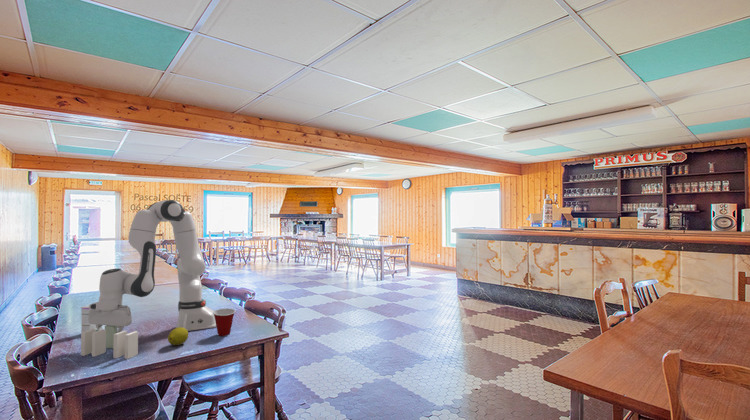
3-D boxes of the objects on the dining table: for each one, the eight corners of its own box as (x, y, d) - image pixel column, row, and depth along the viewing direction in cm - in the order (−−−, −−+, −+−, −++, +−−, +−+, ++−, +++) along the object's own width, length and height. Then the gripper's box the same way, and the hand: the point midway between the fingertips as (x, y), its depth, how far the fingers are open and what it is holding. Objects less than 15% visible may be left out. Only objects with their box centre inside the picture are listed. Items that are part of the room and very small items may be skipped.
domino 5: (124, 358, 154) (124, 335, 154) (134, 354, 159) (134, 331, 159) (128, 358, 154) (128, 335, 154) (137, 354, 159) (138, 331, 159)
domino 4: (113, 357, 155) (113, 334, 155) (123, 353, 160) (123, 330, 160) (116, 358, 155) (117, 334, 155) (126, 353, 160) (127, 330, 160)
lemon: (180, 340, 177) (180, 324, 177) (193, 342, 175) (193, 325, 175) (161, 348, 166) (161, 330, 167) (175, 350, 164) (175, 332, 164)
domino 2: (91, 356, 157) (92, 332, 157) (102, 351, 162) (102, 329, 162) (95, 356, 157) (95, 333, 157) (105, 352, 162) (105, 329, 162)
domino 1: (80, 355, 158) (81, 332, 158) (91, 351, 163) (92, 328, 163) (84, 355, 158) (84, 332, 158) (95, 351, 163) (95, 329, 163)
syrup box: (90, 335, 185) (90, 306, 185) (80, 334, 186) (81, 306, 186) (100, 332, 190) (101, 304, 190) (91, 331, 191) (91, 303, 192)
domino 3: (108, 346, 169) (108, 324, 169) (117, 347, 168) (117, 325, 168) (104, 347, 167) (104, 326, 167) (113, 348, 166) (114, 326, 166)
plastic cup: (219, 339, 178) (219, 314, 179) (208, 334, 185) (209, 311, 186) (239, 333, 187) (239, 310, 187) (229, 329, 194) (229, 307, 194)
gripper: (135, 304, 169) (134, 334, 169) (98, 302, 173) (97, 331, 172) (124, 307, 163) (123, 338, 163) (85, 305, 167) (84, 335, 166)
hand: (109, 334), depth 167 cm, fingers open, 8 cm apart
